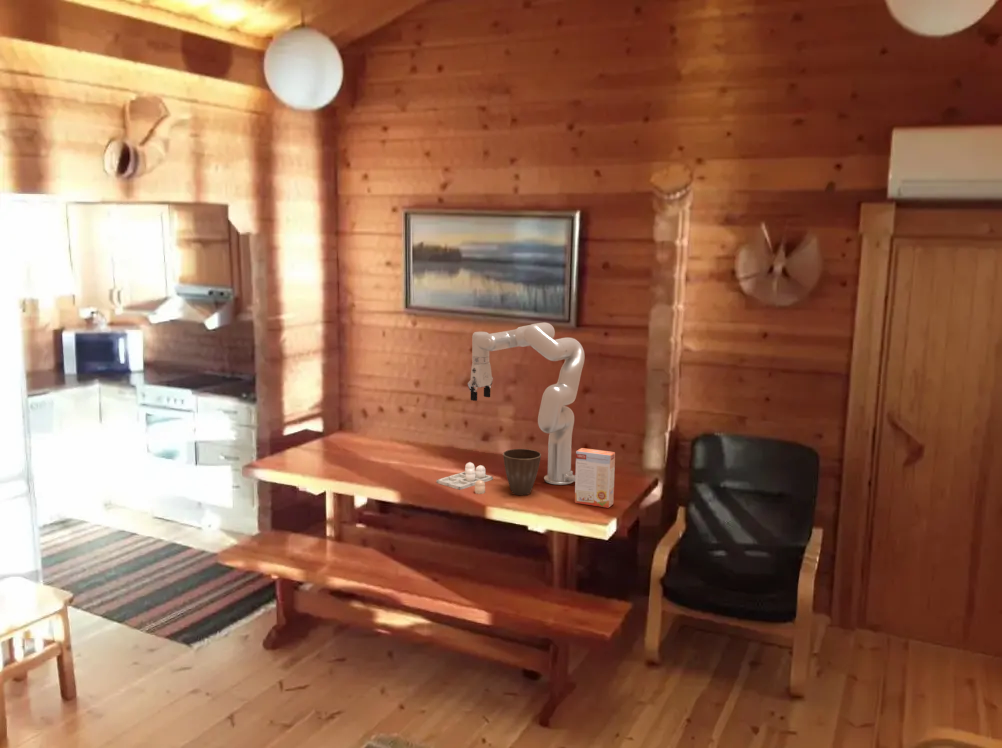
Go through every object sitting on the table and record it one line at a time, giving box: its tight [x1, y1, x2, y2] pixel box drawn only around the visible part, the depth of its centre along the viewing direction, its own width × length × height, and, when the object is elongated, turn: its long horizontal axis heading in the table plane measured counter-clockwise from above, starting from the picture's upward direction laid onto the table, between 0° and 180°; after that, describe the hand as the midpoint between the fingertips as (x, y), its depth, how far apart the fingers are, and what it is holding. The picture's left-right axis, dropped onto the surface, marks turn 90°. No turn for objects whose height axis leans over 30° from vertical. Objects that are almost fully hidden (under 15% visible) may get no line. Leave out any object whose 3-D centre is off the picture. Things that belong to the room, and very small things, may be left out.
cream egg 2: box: [465, 468, 476, 483], centre depth 355 cm, size 4×4×6 cm
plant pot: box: [502, 448, 542, 496], centre depth 346 cm, size 15×15×16 cm
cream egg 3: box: [475, 464, 486, 479], centre depth 360 cm, size 4×4×6 cm
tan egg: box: [474, 480, 486, 495], centre depth 343 cm, size 4×4×6 cm
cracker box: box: [574, 447, 616, 509], centre depth 333 cm, size 14×6×21 cm, turn 63°
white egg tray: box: [436, 471, 494, 491], centre depth 358 cm, size 13×19×2 cm
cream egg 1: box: [464, 461, 476, 473], centre depth 364 cm, size 4×4×6 cm
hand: (480, 398), depth 383 cm, fingers open, 9 cm apart
